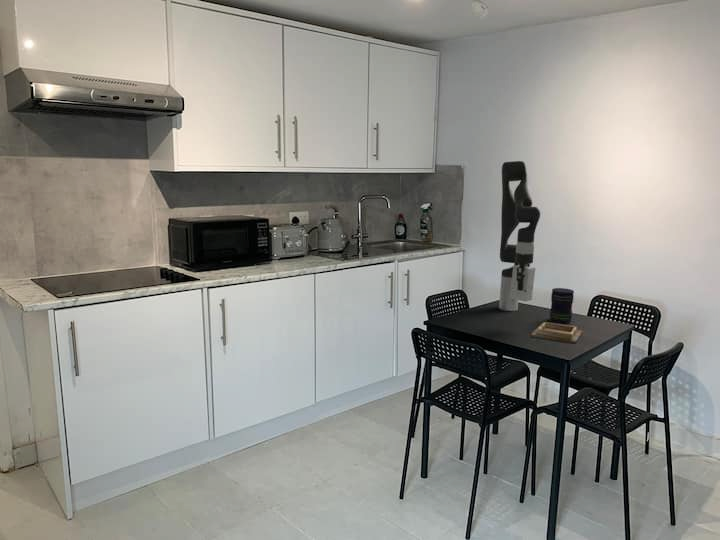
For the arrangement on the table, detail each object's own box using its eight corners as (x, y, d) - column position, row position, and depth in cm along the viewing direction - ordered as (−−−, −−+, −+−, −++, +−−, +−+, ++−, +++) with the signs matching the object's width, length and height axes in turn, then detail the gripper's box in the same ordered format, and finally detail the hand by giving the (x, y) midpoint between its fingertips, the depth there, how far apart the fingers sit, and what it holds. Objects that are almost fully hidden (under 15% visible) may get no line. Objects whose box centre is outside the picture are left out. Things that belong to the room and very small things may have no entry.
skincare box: (509, 298, 249) (511, 265, 246) (516, 296, 253) (518, 264, 250) (526, 302, 243) (528, 268, 240) (533, 299, 247) (535, 267, 244)
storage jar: (562, 317, 269) (564, 287, 267) (575, 323, 260) (578, 291, 258) (544, 318, 266) (547, 288, 264) (558, 324, 257) (561, 292, 255)
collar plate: (540, 326, 252) (540, 320, 252) (582, 333, 244) (582, 326, 243) (531, 336, 237) (531, 329, 236) (575, 343, 228) (576, 336, 228)
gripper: (520, 249, 252) (517, 284, 255) (512, 253, 240) (509, 290, 243) (536, 250, 248) (534, 286, 252) (529, 254, 236) (526, 292, 239)
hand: (522, 288), depth 247 cm, fingers closed on skincare box, 7 cm apart
